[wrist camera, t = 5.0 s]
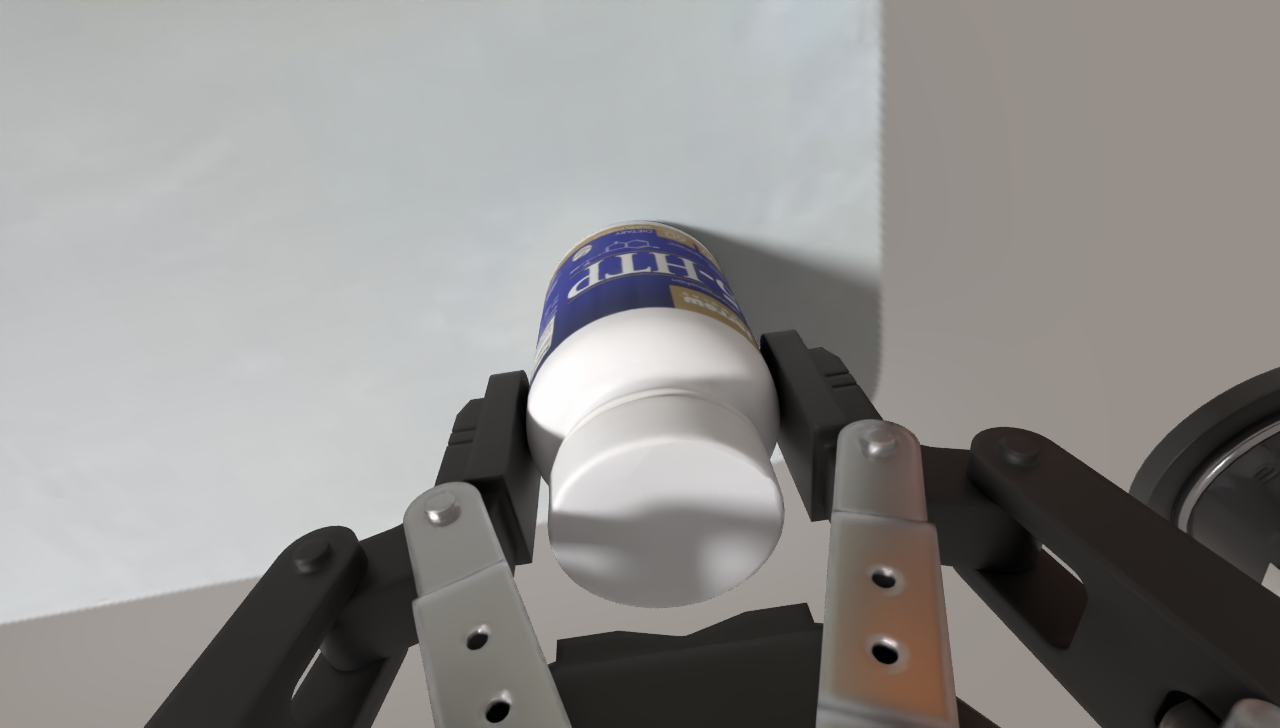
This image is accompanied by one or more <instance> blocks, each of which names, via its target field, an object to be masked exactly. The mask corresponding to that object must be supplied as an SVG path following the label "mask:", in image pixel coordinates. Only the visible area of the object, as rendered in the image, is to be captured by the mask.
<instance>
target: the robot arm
mask: <svg viewBox="0 0 1280 728" xmlns="http://www.w3.org/2000/svg"><path fill="white" fill-rule="evenodd" d="M760 351H761V353H762V355H763V357H764V359H765V362H766V364H767V366H768V369H769V371H770V373H771V376H772V378H773V381H774V384H775V387H776V390H777V394H778V399H779V407H780V425H779V433H778V438H777V443H778V445H779V448H780V450H781V452H782V455H783V457H784V459H785V462H786V464H787V466H788V468H789V471H790V473H791V475H792V478H793V480H794V482H795V485H796V487H797V489H798V492H799V494H800V496H801V499H802V501H803V503H804V506H805V508H806V510H807V512H808V515H809V517H810V519H811V521H812V522H814V521H821V520H829V522H830V524H831V529H830V543H829V558H828V570H827V584H826V585H827V586H826V597H825V611H824V623H814V620H813V618H812V615H811V613H810V610H809V607H808V605H807V603H801V604H795V605H787V606H781V607H774V608H768V609H761V610H754V611H748V612H744V613H741V614H739V615H737V616H734V617H732V618H729V619H727V620H724V621H722V622H719V623H717V624H714V625H712V626H710V627H707V628H705V629H702V630H700V631H697V632H695V633H693V634H690V635H687V636H670V635H659V634H648V633H637V632H626V631H614V632H607V633H601V634H594V635H588V636H581V637H574V638H567V639H560V640H557V653H556V661H555V662H553V663H550V664H548V665H547V663H546V660H545V657H544V655H543V652H542V649H541V647H540V645H539V642H538V639H537V637H536V634H535V632H534V629H533V626H532V624H531V622H530V619H529V616H528V614H527V611H526V609H525V606H524V604H523V601H522V598H521V596H520V593H519V591H518V588H517V585H516V583H515V580H514V571H515V565H522V564H529V563H532V558H533V548H534V538H535V528H536V519H537V509H538V499H539V489H540V479H541V474H540V472H539V471H538V469H537V467H536V465H535V463H534V461H533V458H532V456H531V452H530V449H529V446H528V440H527V434H526V408H527V400H528V392H529V387H530V385H529V382H528V378H527V375H526V373H525V371H524V370H521V371H514V372H507V373H501V374H494V375H491V376H490V378H489V382H488V385H487V389H486V393H485V397H484V398H480V399H473V400H470V401H469V402H468V403H467V404H466V406H465V407H464V408H463V409H462V410H461V411H460V412H459V413H458V414H457V417H456V420H455V423H454V426H453V429H452V433H451V435H450V439H449V442H448V446H447V448H446V451H445V454H444V457H443V460H442V464H441V467H440V470H439V473H438V476H437V479H436V482H435V485H434V487H433V488H431V489H429V490H427V491H426V492H424V493H422V494H421V495H420V496H418V497H417V498H416V499H415V500H414V501H413V502H412V503H411V504H410V505H409V507H408V508H407V510H406V512H405V514H404V518H403V523H402V524H401V525H399V526H397V527H394V528H392V529H390V530H387V531H385V532H382V533H380V534H377V535H374V536H372V537H369V538H367V539H364V540H361V541H358V539H357V537H356V535H355V533H354V532H353V531H352V530H351V529H349V528H347V527H343V526H329V527H324V528H321V529H317V530H315V531H312V532H310V533H308V534H306V535H304V536H302V537H301V538H299V539H297V540H296V541H294V542H293V543H292V544H291V545H289V546H288V547H287V548H286V549H285V550H284V551H283V552H282V553H281V554H280V555H279V556H278V558H277V559H276V560H275V562H274V563H273V564H272V565H271V567H270V568H269V569H268V570H267V572H266V573H265V574H264V575H263V577H262V578H261V579H260V581H259V582H258V583H257V584H256V586H255V587H254V588H253V589H252V591H251V592H250V593H249V595H248V596H247V597H246V598H245V600H244V601H243V602H242V604H241V605H240V606H239V607H238V608H237V610H236V611H235V612H234V614H233V615H232V616H231V617H230V619H229V620H228V621H227V622H226V624H225V625H224V626H223V628H222V629H221V630H220V631H219V633H218V634H217V635H216V636H215V638H214V639H213V640H212V642H211V643H210V644H209V645H208V647H207V648H206V649H205V650H204V652H203V653H202V654H201V655H200V657H199V658H198V659H197V660H196V662H195V663H194V664H193V666H192V667H191V668H190V669H189V671H188V672H187V673H186V674H185V676H184V677H183V678H182V680H181V681H180V682H179V683H178V685H177V686H176V687H175V688H174V690H173V691H172V692H171V693H170V695H169V696H168V697H167V699H166V700H165V701H164V702H163V704H162V705H161V706H160V708H159V709H158V710H157V711H156V712H155V714H154V715H153V716H152V718H151V719H150V720H149V722H148V723H147V724H146V725H145V727H144V728H371V726H372V724H373V722H374V720H375V718H376V716H377V714H378V712H379V710H380V708H381V706H382V703H383V702H384V699H385V697H386V695H387V693H388V691H389V689H390V687H391V685H392V683H393V681H394V679H395V677H396V675H397V673H398V670H399V668H400V666H401V664H402V662H403V660H404V658H405V656H406V654H407V651H408V648H409V647H411V646H413V645H415V644H418V643H419V646H420V651H421V656H422V661H423V666H424V672H425V677H426V683H427V687H428V693H429V698H430V704H431V709H432V714H433V720H434V724H435V728H1000V727H999V726H998V725H996V724H995V723H993V722H992V721H990V720H989V719H988V718H986V717H985V716H984V715H982V714H981V713H979V712H978V711H976V710H975V709H974V708H972V707H971V706H969V705H968V704H967V703H965V702H964V701H962V700H961V699H960V698H958V697H957V696H956V694H955V685H954V677H953V668H952V659H951V651H950V642H949V633H948V624H947V616H946V607H945V598H944V589H943V581H942V573H941V565H945V566H953V568H954V569H955V571H956V572H957V573H958V574H959V575H960V576H961V578H962V579H963V580H964V581H965V582H966V583H967V584H968V585H969V586H970V587H971V588H972V589H973V590H974V591H975V593H977V594H978V596H979V597H980V598H981V599H982V600H983V601H984V602H985V603H986V604H987V605H988V606H989V607H990V609H991V610H992V611H993V612H994V613H995V614H996V615H997V616H998V617H999V618H1000V619H1001V620H1002V621H1003V622H1004V624H1005V625H1006V626H1007V627H1008V628H1009V629H1010V630H1011V631H1012V632H1013V633H1014V634H1015V635H1016V636H1017V637H1018V638H1019V640H1020V641H1021V642H1022V643H1023V644H1024V645H1025V646H1026V647H1027V648H1028V649H1029V650H1030V651H1031V652H1032V653H1033V655H1034V656H1035V657H1036V658H1037V659H1038V660H1039V661H1040V662H1041V663H1042V664H1043V665H1044V666H1045V667H1046V668H1047V669H1048V671H1049V672H1050V673H1051V674H1052V675H1053V676H1054V677H1055V678H1056V679H1057V680H1058V681H1059V682H1060V683H1061V685H1062V686H1063V687H1064V688H1065V689H1066V690H1067V691H1068V692H1069V693H1070V694H1071V695H1072V696H1073V697H1074V698H1075V699H1076V701H1077V702H1078V703H1079V704H1080V705H1081V706H1082V707H1083V708H1084V709H1085V710H1086V711H1087V712H1088V713H1089V714H1090V716H1091V717H1092V718H1093V719H1094V720H1095V721H1096V722H1097V723H1098V724H1099V725H1100V726H1101V727H1102V728H1280V411H1278V412H1276V413H1274V414H1271V415H1269V416H1267V417H1265V418H1263V419H1261V420H1259V421H1257V422H1255V423H1254V424H1252V425H1250V426H1248V427H1247V428H1245V429H1243V430H1242V431H1240V432H1239V433H1237V434H1236V435H1234V436H1233V437H1231V438H1230V439H1228V440H1227V441H1226V442H1224V443H1223V444H1222V445H1220V446H1219V447H1218V448H1217V449H1216V450H1214V451H1213V452H1212V453H1211V454H1210V455H1209V456H1208V457H1206V458H1205V459H1204V460H1203V461H1202V462H1201V463H1200V464H1199V465H1198V467H1197V468H1196V469H1195V470H1194V471H1193V472H1192V473H1191V475H1190V476H1189V477H1188V478H1187V480H1186V481H1185V483H1184V484H1183V486H1182V487H1181V489H1180V491H1179V492H1178V494H1177V496H1176V498H1175V501H1174V504H1173V507H1172V511H1171V519H1170V522H1169V521H1168V520H1166V519H1165V518H1163V517H1162V516H1161V515H1159V514H1158V513H1156V512H1155V511H1153V510H1152V509H1150V508H1149V507H1147V506H1146V505H1144V504H1143V503H1142V502H1140V501H1139V500H1137V499H1136V498H1134V497H1133V496H1131V495H1130V494H1128V493H1127V492H1125V491H1124V490H1123V489H1121V488H1119V487H1118V486H1117V485H1115V484H1114V483H1112V482H1111V481H1109V480H1108V479H1106V478H1105V477H1104V476H1102V475H1101V474H1099V473H1098V472H1096V471H1095V470H1093V469H1092V468H1090V467H1089V466H1087V465H1086V464H1085V463H1083V462H1082V461H1080V460H1079V459H1077V458H1076V457H1074V456H1073V455H1071V454H1070V453H1068V452H1067V451H1065V450H1064V449H1063V448H1061V447H1060V446H1058V445H1057V444H1055V443H1054V442H1052V441H1051V440H1049V439H1047V438H1045V437H1044V436H1042V435H1039V434H1037V433H1034V432H1031V431H1027V430H1024V429H1019V428H1011V427H997V428H990V429H986V430H984V431H981V432H980V433H978V434H977V435H976V436H975V437H974V438H973V440H972V443H971V448H970V450H964V449H950V448H936V447H929V446H924V445H920V443H919V441H918V439H917V437H916V436H915V435H914V434H913V433H911V431H909V430H908V429H906V428H905V427H903V426H901V425H898V424H895V423H893V422H889V421H884V420H883V419H882V417H881V416H880V415H879V413H878V412H877V410H876V409H875V407H874V406H873V405H872V403H871V402H870V400H869V399H868V398H867V396H866V395H865V393H864V392H863V391H862V389H861V388H860V386H859V385H857V383H856V381H855V379H854V378H853V376H852V375H851V374H849V371H848V369H847V368H846V367H845V365H844V364H843V362H842V361H841V360H840V358H839V357H837V356H836V355H834V354H832V353H830V352H829V351H827V350H825V349H824V348H822V347H820V348H814V349H807V347H806V345H805V344H804V342H803V341H802V339H801V338H800V336H799V334H798V333H797V331H796V330H788V331H781V332H774V333H768V334H762V335H761V339H760ZM1042 544H1044V545H1045V546H1046V547H1047V548H1049V549H1050V550H1051V551H1052V552H1053V553H1054V554H1055V555H1057V556H1058V557H1059V558H1060V559H1061V560H1062V561H1063V562H1065V563H1066V564H1067V565H1068V566H1069V567H1070V568H1071V569H1072V570H1074V571H1075V572H1076V574H1077V575H1078V576H1079V577H1080V579H1081V580H1082V582H1083V584H1082V583H1081V582H1080V581H1079V580H1078V579H1077V578H1075V577H1074V576H1073V575H1072V574H1071V573H1070V572H1069V571H1068V570H1066V569H1065V568H1064V567H1063V566H1062V565H1061V564H1059V563H1058V562H1057V561H1056V560H1055V559H1054V558H1053V557H1052V556H1050V555H1049V554H1048V553H1047V552H1046V551H1045V550H1044V549H1042V548H1041V547H1042ZM318 649H320V650H321V653H320V654H319V656H318V658H317V659H316V661H315V663H314V664H313V666H312V668H311V669H310V671H309V672H308V674H307V676H306V677H305V679H304V681H303V682H302V684H301V685H300V687H299V689H298V690H297V692H296V694H295V695H294V697H293V699H292V695H293V692H294V689H295V687H296V685H297V683H298V681H299V679H300V678H301V676H302V675H303V673H304V671H305V670H306V668H307V666H308V665H309V663H310V661H311V660H312V658H313V657H314V655H315V653H316V652H317V650H318ZM291 699H292V700H291Z"/></svg>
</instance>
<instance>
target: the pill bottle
mask: <svg viewBox="0 0 1280 728" xmlns="http://www.w3.org/2000/svg"><path fill="white" fill-rule="evenodd" d="M779 425H780V407H779V399H778V394H777V390H776V387H775V384H774V381H773V378H772V376H771V373H770V371H769V369H768V366H767V364H766V362H765V359H764V357H763V355H762V353H761V351H760V349H759V347H758V345H757V343H756V341H755V339H754V337H753V335H752V333H751V331H750V329H749V327H748V325H747V322H746V320H745V318H744V316H743V314H742V312H741V310H740V308H739V306H738V304H737V301H736V299H735V297H734V295H733V293H732V291H731V289H730V287H729V285H728V283H727V281H726V279H725V276H724V275H723V273H722V271H721V269H720V267H719V265H718V264H717V262H716V260H715V259H714V257H713V256H712V254H711V253H710V252H709V251H708V250H707V249H706V248H705V247H704V246H703V245H702V244H701V243H700V242H699V241H698V240H696V239H695V238H693V237H692V236H690V235H689V234H687V233H685V232H683V231H681V230H679V229H677V228H674V227H671V226H668V225H665V224H661V223H657V222H651V221H627V222H620V223H616V224H612V225H609V226H606V227H603V228H601V229H598V230H596V231H594V232H592V233H591V234H589V235H587V236H586V237H584V238H583V239H581V240H580V241H579V242H577V243H576V244H575V245H574V246H573V247H572V248H571V249H570V250H569V251H568V252H567V253H566V254H565V255H564V256H563V258H562V259H561V260H560V262H559V263H558V265H557V267H556V269H555V270H554V272H553V274H552V277H551V279H550V282H549V285H548V289H547V293H546V297H545V302H544V307H543V314H542V319H541V324H540V330H539V336H538V342H537V347H536V353H535V358H534V364H533V370H532V376H531V381H530V387H529V392H528V400H527V408H526V434H527V440H528V446H529V449H530V452H531V456H532V458H533V461H534V463H535V465H536V467H537V469H538V471H539V472H540V474H541V476H542V478H543V479H544V481H545V482H546V483H547V484H548V486H549V511H548V534H549V540H550V545H551V548H552V550H553V553H554V556H555V557H556V560H557V561H558V563H559V564H560V566H561V567H562V569H563V570H564V571H565V573H566V574H567V575H568V576H569V577H570V578H571V579H572V580H573V581H574V582H575V583H576V584H578V585H579V586H581V587H583V588H584V589H586V590H587V591H589V592H591V593H592V594H594V595H597V596H599V597H601V598H604V599H606V600H609V601H612V602H615V603H619V604H623V605H629V606H635V607H645V608H669V607H678V606H685V605H690V604H694V603H699V602H703V601H705V600H709V599H712V598H714V597H716V596H719V595H721V594H723V593H725V592H727V591H730V590H731V589H733V588H735V587H737V586H738V585H740V584H741V583H743V582H744V581H745V580H747V579H748V578H749V577H751V576H752V575H753V574H754V573H756V571H758V570H759V569H760V567H761V566H762V565H763V564H764V563H765V562H766V561H767V560H768V558H769V557H770V555H771V554H772V552H773V550H774V549H775V547H776V545H777V543H778V541H779V539H780V536H781V533H782V529H783V524H784V502H783V496H782V493H781V490H780V487H779V484H778V481H777V478H776V475H775V472H774V470H773V467H772V464H771V462H770V458H771V456H772V453H773V451H774V448H775V446H776V442H777V438H778V433H779Z"/></svg>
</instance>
